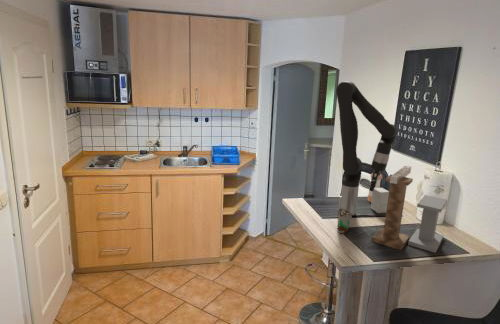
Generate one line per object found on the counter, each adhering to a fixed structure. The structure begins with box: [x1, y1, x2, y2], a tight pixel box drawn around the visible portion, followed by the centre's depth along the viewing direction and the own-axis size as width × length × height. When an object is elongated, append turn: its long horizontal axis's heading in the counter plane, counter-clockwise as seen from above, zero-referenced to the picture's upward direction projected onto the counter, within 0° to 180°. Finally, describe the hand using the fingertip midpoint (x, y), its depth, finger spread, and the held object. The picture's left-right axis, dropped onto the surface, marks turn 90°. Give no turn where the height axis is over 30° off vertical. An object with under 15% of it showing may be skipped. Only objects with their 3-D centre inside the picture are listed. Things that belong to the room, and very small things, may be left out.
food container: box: [337, 207, 353, 235], centre depth 179 cm, size 12×6×10 cm, turn 168°
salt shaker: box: [367, 173, 383, 203], centre depth 221 cm, size 7×7×19 cm
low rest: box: [407, 194, 448, 254], centre depth 168 cm, size 12×18×21 cm, turn 142°
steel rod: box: [389, 165, 412, 184], centre depth 164 cm, size 3×24×3 cm, turn 142°
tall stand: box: [371, 174, 414, 251], centre depth 167 cm, size 14×14×32 cm
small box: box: [370, 187, 389, 214], centre depth 206 cm, size 8×6×13 cm
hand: (372, 188), depth 190 cm, fingers open, 8 cm apart
